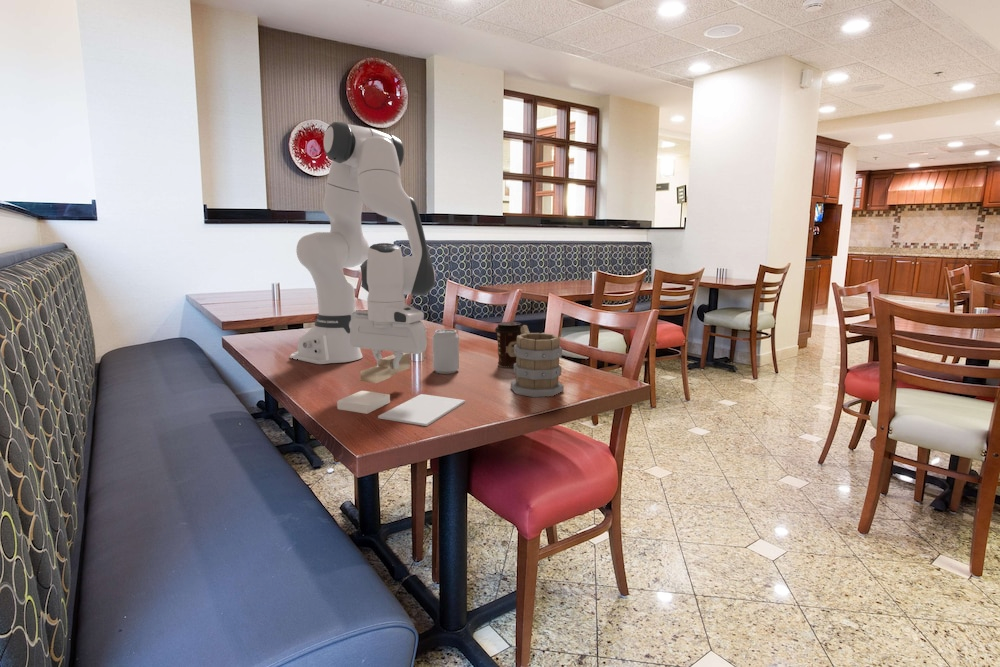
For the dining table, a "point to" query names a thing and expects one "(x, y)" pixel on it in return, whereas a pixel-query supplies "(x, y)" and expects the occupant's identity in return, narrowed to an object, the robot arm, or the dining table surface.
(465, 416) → the dining table surface
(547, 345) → the tankard
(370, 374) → the tan stepped bar
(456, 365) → the can
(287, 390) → the dining table surface
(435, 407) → the mat
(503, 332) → the coffee cup
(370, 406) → the tile
